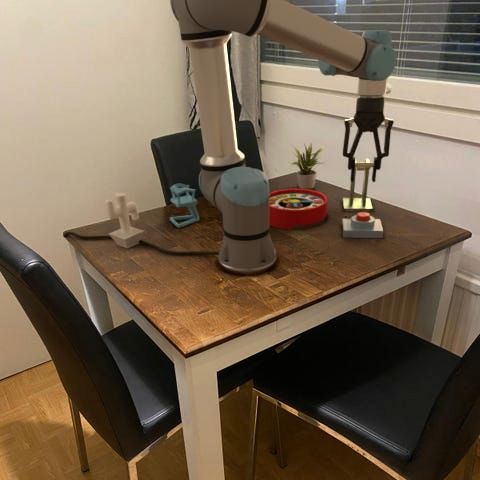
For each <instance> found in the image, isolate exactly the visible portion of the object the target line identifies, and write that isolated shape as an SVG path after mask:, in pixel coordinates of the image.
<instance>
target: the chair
mask: <svg viewBox="0 0 480 480" xmlns="http://www.w3.org/2000/svg"><path fill="white" fill-rule="evenodd" d="M169 189H170V192H171V195H172V197H171V198H170V202H171V203H172V204H174V205H175V206H176V208H182V207H186V208H187V209H188V211H189V213H190V214H189V215H180V216H179V215H178V216H169V221H170V222H171V223H172V224H173V225H174V226H175V227H177V228H178V229H180V228H183V227H185V226H188V225H191V224H193V223H196V222H199V221H200V215H199V212H198V211H197V207H196V206H197V204H198V200H197V199H196V198H195V193H196V189H193V188H190V185H189V184H184V183H181V182H180V183H178V182H177V183H175V184H173V185H172V186H170V187H169ZM184 193H185V194H186V195H183V196H181V195H182V194H184ZM190 193H192V194H191V195H190ZM180 220H181V221H183V220H186V221H184V222H181V223H178V221H180Z"/></svg>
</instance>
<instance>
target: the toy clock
mask: <svg viewBox="0 0 480 480" xmlns="http://www.w3.org/2000/svg"><path fill="white" fill-rule="evenodd" d="M327 215H328V197H327V196H326V195H325V194H323V193H322V192H320V191H316V190H312V189H302V188H287V189H278V190H275V191H270V195H269V226H271V227H274V228H278V229H284V230H294V227H295V226H297V227H298V226H299V227H300V226H307V225H313V224H316V223H319V222H321V221H323V220H325V218H326V217H327Z"/></svg>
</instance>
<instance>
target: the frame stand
mask: <svg viewBox="0 0 480 480" xmlns="http://www.w3.org/2000/svg"><path fill="white" fill-rule="evenodd" d="M355 162H357V159H356V160H355ZM364 162H371V161H370V159H369V158H365V160H364ZM371 168H372V167H365V169H364V171H363V180H362V181H363V182H362V191H361V197H355V187H356V176H357V171H356V170H357V167H355V171H354V182H351V181H350V186H349V197H342V204H343V209H350V210H351V209H352V210H353V209H356V210H357V209H359V210H361V209H364V210H365V209H366V210H368V209H369V210H372V209H373V205H372V201H371V198H370V197H368V196H367V195H368V187H369V185H368V184H369V177H370V176H369V175H370V170H371Z"/></svg>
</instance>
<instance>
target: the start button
mask: <svg viewBox="0 0 480 480" xmlns="http://www.w3.org/2000/svg"><path fill="white" fill-rule="evenodd" d="M356 215H357V219H356V220H358V221H369V218H370V216H371V214H370V212H366V211H360V212H357V213H356Z"/></svg>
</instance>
